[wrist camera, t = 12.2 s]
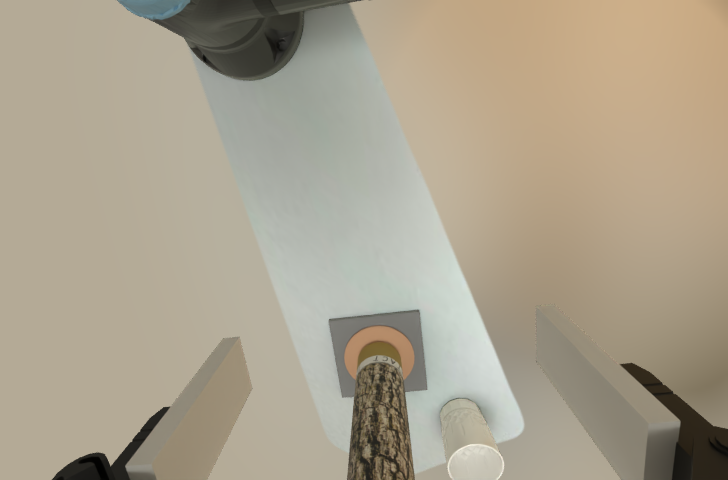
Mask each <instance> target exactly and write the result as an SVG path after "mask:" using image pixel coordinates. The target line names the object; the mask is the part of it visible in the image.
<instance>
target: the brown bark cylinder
mask: <svg viewBox="0 0 728 480" xmlns="http://www.w3.org/2000/svg"><path fill="white" fill-rule="evenodd" d="M414 478H415V477H414V468H413V459H412V450H411V442H410V433H409V424H408V415H407V406H406V397H405V388H404V379H403V372H402V363H401V357H400V354H399V352H398V351H397V350H396V349H395V348H394V347H393V346H392V345H390V344H387V343H384V342H375V343H371V344H369V345H367V346H365V347H364V348H363V349H362V350H361V352H360V354H359V356H358V362H357V373H356V383H355V395H354V406H353V418H352V429H351V441H350V452H349V464H348V475H347V480H415V479H414Z"/></svg>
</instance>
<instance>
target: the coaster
mask: <svg viewBox="0 0 728 480" xmlns="http://www.w3.org/2000/svg"><path fill="white" fill-rule="evenodd" d="M329 325H330V331H331V337H332V342H333V348H334V354H335V359H336V365H337V371H338V376H339V382H340V388H341V393H342V398H344V397H354V395H355V383H356V373H357V362H358V356H359V354H360V352H361V350H362V349H363V348H364V347H365V346H367V345H369V344H371V343H375V342H384V343H387V344H390V345H392V346H393V347H394V348H395V349H396V350H397V351H398V352H399V354H400V357H401V363H402V372H403V379H404V388H405V392H409V391H420V390H427V381H426V371H425V362H424V352H423V342H422V332H421V323H420V313H419V310H413V311H404V312H395V313H385V314H376V315H367V316H357V317H348V318H338V319H329Z"/></svg>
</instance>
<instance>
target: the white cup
mask: <svg viewBox="0 0 728 480" xmlns="http://www.w3.org/2000/svg"><path fill="white" fill-rule="evenodd" d="M440 419H441V426H442V430H441V431H442V438H443V444H444V450H445V456H446V462H447V469H448V473H449V475H450V477H451V478H452V480H498V479H499V477H501V475H502V473H503V470H504V461H503V458H502V455H501V453H500V451H499V449H498V447H497V444H496V442H495V440H494V438H493V436H492V433H491V431H490V429H489V427H488V425H487V423H486V421H485V419H484V418H483V416H482V413H481V411H480V409H479V408H478V407H477V405H476V404H475V403H474V402H472V401H470V400H468V399H455V400H452V401H449V402H448V403H447V404H446V405H444V406H443V408H442V410H441V413H440Z"/></svg>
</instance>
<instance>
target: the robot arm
mask: <svg viewBox="0 0 728 480" xmlns="http://www.w3.org/2000/svg"><path fill="white" fill-rule="evenodd" d="M117 1H118V2H119V3H120V4H122V5H123V6H124V7H126V9H127V10H129V11H130V12H132V13H133V14H135V15H138V16H140V17H144V18H147V19H149V20H151V21H153V22H155V23H157V24H159V25H161V26H163V27H165V28H167V29H168V30H170V31H172V32H174V33H176V34H178V35H180V36H182V37H184V39H185V40H186V42H187V44H188V45H189V47H190V48H191V50H192V51H193V52H194V53H195V55H196V56H197V57H198V58H199V59H200V60H201V61H203V62H204V63H205V64H206V65H207V66H209V67H210V68H212V69H213V70H215V71H217V72H219V73H221V74H223V75H226V76H228V77H231V78H234V79H238V80H258V79H262V78H266V77H268V76H270V75H272V74H274V73H276V72H277V71H279V70H280V69H281V68H283V67H284V66H285V65H286V64H287V62H288V61H289V60H290V59H291V57H292V56H293V54H294V53H295V51H296V49H297V47H298V44H299V42H300V39H301V35H302V30H303V11H305V10H311V9H316V8H322V7H327V6H333V5H339V4H344V3H350V2H355V1H361V0H117ZM536 362H537V363H538V365H539V366H540V368H541V369H542V370H543V372H544V373H545V375H546V376H547V377H548V379H549V380H550V381H551V383H552V384H553V386H554V387H555V388H556V389H557V391H558V393H559V394H560V395H561V397H562V398H563V400H564V401H565V402H566V404H567V405H568V406H569V408H570V409H571V411H572V412H573V413H574V415H575V416H576V417H577V419H578V420H579V422H580V423H581V425H582V426H583V427H584V429H585V430H586V432H587V433H588V434H589V436H590V437H591V438H592V440H593V441H594V443H595V444H596V445H597V447H598V448H599V450H600V451H601V452H602V454H603V455H604V457H605V458H606V459H607V461H608V462H609V463H610V465H611V466H612V467H613V469H614V470H615V472H616V473H617V475H618V476H619V477H620V479H621V480H728V429H725V428H720V427H716V426H713V425H711V424H710V423H709V422H708V421H707V420H705V419H704V418H703V417H702V416H701V415H700V414H698V413H697V412H696V411H695V410H694V409H692V408H691V407H690V406H689V405H688V404H687V403H685V402H684V401H683V400H682V399H681V398H680V397H678V396H677V395H676V394H673V391H671V390H670V389H669V388H668V387H667V386H665V385H663V384H662V382H660V380H658V379H657V378H656V377H655V376H654V375H653V374H651V373H650V372H649V371H646V370H645V369H643V368H641V367H639V366H637V365H635V364H633V363H627V364H618V363H617V362H616V361H615V360H614V359H613V358H612V357H611V356H610V355H609V354H608V353H606V352H605V351H604V350H603V349H602V348H601V347H600V346H599V345H598V344H597V343H596V342H595V341H594V340H592V339H591V338H590V337H589V336H588V335H587V334H586V333H585V332H584V331H583V330H581V328H579V327H578V326H577V325H576V324H575V323H574V322H573V321H572V320H571V319H570V318H569V317H568V316H567V315H565V314H564V313H563V312H562V311H561V310H560V309H559V308H558V307H557V306H556V305H555V304H549V305H540V306H536ZM251 390H252V385H251V381H250V377H249V373H248V369H247V365H246V361H245V357H244V353H243V349H242V345H241V341H240V337H233V338H223V339H222V341H221V342H220V343H219V345H218V346H217V347H216V348H215V350H214V351H213V352H212V354H211V355H210V356H209V357H208V359H207V360H206V361H205V363H204V364H203V365H202V367H201V368H200V369H199V371H198V372H197V373H196V374H195V376H194V377H193V378H192V380H191V381H190V382H189V384H188V385H187V386H186V387H185V389H184V390H183V391H182V393H181V394H180V395H179V397H178V398H177V399H176V400H175V402H174V403H173V404H172V406H171V407H163V408H162V409H161V410H160V411H158V412H157V413H156V414H155V415H153V416H152V417H151V418H150V419H149V420H148V421H147V423H146V424H145V425H144V426H143V427H142V429H141V430H140V432H139V433H138V434H137V435H136V436H135V437H134V439H133V441H132V442H130V443H129V445H128V446H127V447H126V448H125V450H124V451H123V452H122V454H121V455H120V456H119V457H118V458H117V460H116V461H115V462H114V463H113V465H112V466H111V467H110V464H109V462H108V459H107V457H106V456H105V454H103V453H92V454H88V455H86V456H83V457H80V458H78V459H76V460H75V461H73V462H71V463H70V464H68V465H67V466H65V467H64V468H63V469H62V470H61V471H59V472H58V473H57V474H56V476H55V477H54V478H53V479H52V480H207V479H208V477H209V475H210V473H211V471H212V469H213V467H214V465H215V463H216V461H217V459H218V457H219V455H220V453H221V451H222V449H223V447H224V444H225V442H226V441H227V439H228V437H229V435H230V432H231V430H232V428H233V426H234V424H235V422H236V420H237V418H238V416H239V414H240V412H241V410H242V408H243V406H244V404H245V402H246V400H247V398H248V396H249V394H250V392H251Z"/></svg>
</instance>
